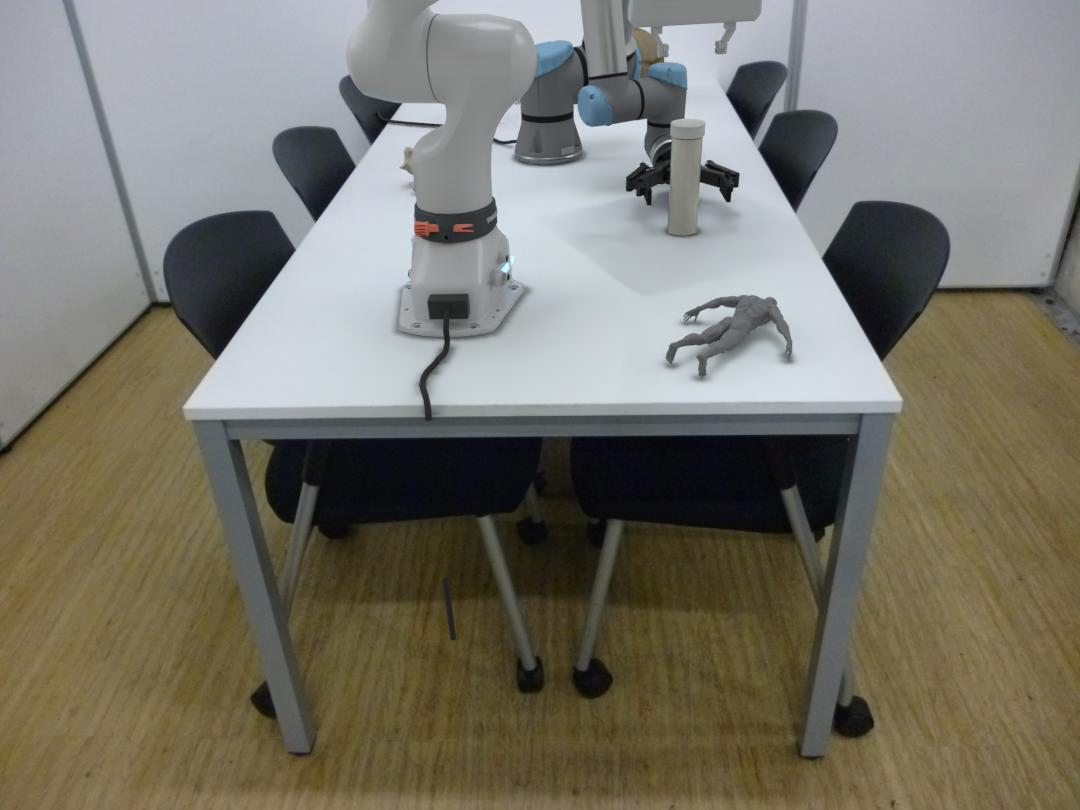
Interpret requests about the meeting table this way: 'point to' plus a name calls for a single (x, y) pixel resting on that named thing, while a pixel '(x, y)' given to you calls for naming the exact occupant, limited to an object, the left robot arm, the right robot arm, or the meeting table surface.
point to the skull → (646, 50)
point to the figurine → (732, 326)
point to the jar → (684, 186)
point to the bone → (408, 161)
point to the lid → (687, 128)
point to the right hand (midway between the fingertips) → (689, 196)
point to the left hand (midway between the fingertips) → (691, 55)
